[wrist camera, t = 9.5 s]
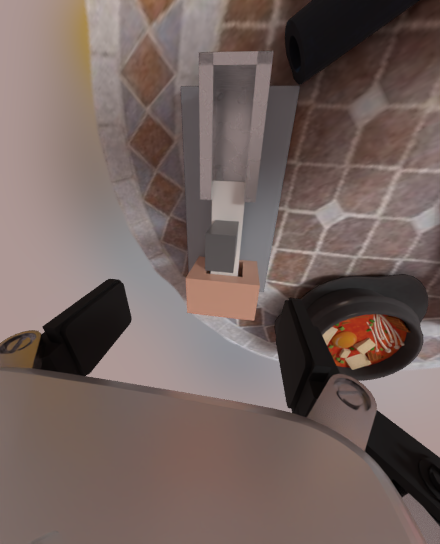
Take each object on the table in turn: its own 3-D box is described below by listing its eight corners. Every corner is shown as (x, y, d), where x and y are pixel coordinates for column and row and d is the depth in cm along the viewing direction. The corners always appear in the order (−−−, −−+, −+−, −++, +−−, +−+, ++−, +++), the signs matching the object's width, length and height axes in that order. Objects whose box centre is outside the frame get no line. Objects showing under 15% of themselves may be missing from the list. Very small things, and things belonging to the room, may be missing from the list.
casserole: (409, 243, 28) (468, 266, 21) (425, 328, 34) (474, 369, 27) (258, 300, 36) (261, 332, 29) (293, 360, 42) (302, 399, 35)
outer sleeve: (211, 86, 22) (198, 52, 16) (266, 85, 21) (273, 50, 15) (210, 194, 27) (200, 199, 22) (253, 197, 27) (255, 202, 21)
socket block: (199, 256, 32) (185, 278, 25) (256, 261, 31) (259, 285, 24) (199, 285, 35) (187, 312, 28) (252, 291, 34) (254, 320, 27)
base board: (183, 90, 23) (180, 86, 22) (297, 90, 22) (300, 85, 21) (190, 281, 36) (189, 284, 35) (263, 288, 35) (263, 292, 34)
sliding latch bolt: (216, 180, 25) (198, 181, 16) (247, 181, 25) (247, 183, 15) (213, 281, 32) (200, 323, 23) (237, 283, 32) (233, 327, 23)
